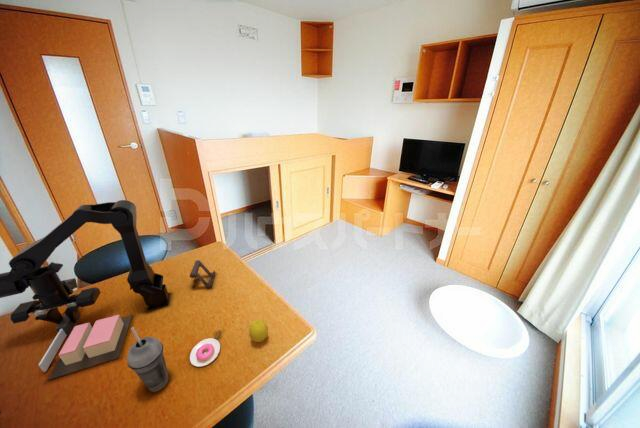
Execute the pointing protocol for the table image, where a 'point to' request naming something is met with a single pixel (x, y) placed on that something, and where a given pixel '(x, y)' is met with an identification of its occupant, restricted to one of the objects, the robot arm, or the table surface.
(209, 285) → the tablet stand
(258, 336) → the lemon
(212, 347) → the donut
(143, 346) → the beverage cup
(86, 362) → the cake board
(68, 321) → the knife
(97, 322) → the cake
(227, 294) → the table surface
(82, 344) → the cake slice
